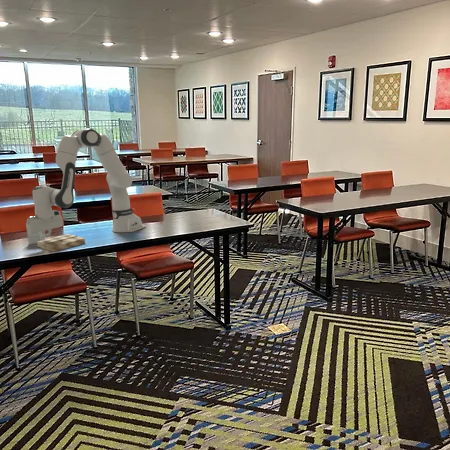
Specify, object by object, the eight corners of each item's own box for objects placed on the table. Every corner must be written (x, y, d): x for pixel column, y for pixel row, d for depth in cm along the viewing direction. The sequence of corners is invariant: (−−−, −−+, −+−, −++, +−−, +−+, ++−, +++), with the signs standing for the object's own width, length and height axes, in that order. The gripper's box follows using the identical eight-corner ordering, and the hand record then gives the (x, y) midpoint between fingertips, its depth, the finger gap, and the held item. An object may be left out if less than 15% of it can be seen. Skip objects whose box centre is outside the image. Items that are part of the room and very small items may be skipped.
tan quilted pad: (68, 238, 256) (68, 233, 255) (77, 241, 251) (76, 235, 250) (37, 246, 241) (37, 240, 240) (45, 249, 236) (45, 243, 235)
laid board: (77, 241, 251) (76, 235, 250) (85, 243, 246) (84, 237, 245) (46, 249, 236) (45, 243, 235) (53, 251, 231) (53, 245, 230)
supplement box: (45, 240, 255) (43, 220, 252) (41, 243, 247) (38, 223, 244) (33, 241, 254) (30, 220, 251) (28, 244, 247) (25, 223, 244)
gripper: (29, 218, 228) (32, 242, 231) (62, 211, 243) (66, 233, 247) (23, 217, 232) (27, 241, 235) (57, 210, 247) (60, 232, 250)
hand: (47, 237), depth 241 cm, fingers closed
